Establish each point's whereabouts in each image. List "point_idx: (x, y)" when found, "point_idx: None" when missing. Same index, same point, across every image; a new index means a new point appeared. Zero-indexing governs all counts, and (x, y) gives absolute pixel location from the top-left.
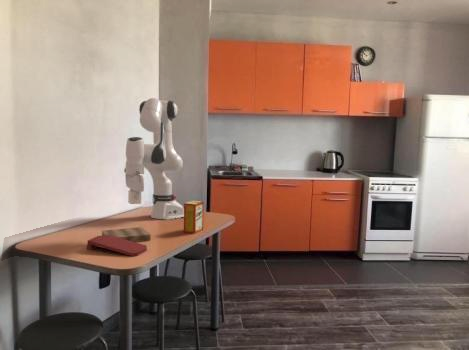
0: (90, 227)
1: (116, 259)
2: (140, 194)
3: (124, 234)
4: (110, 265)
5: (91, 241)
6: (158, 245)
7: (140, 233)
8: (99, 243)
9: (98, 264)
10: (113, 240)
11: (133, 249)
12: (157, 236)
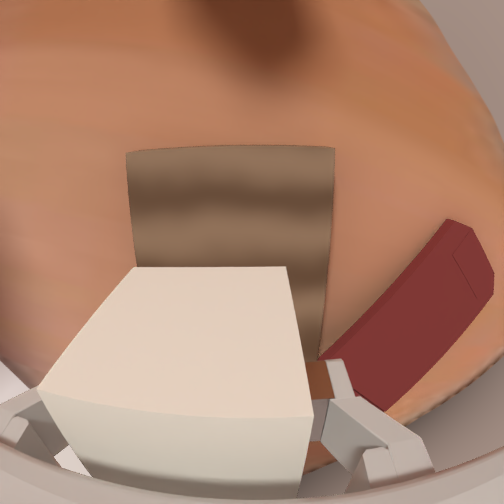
0: (24, 341)
1: (475, 335)
2: (302, 375)
3: None
4: (496, 350)
5: None
6: (425, 145)
7: (288, 199)
8: (399, 398)
9: (473, 375)
10: (383, 356)
11: (474, 287)
12: (255, 83)
